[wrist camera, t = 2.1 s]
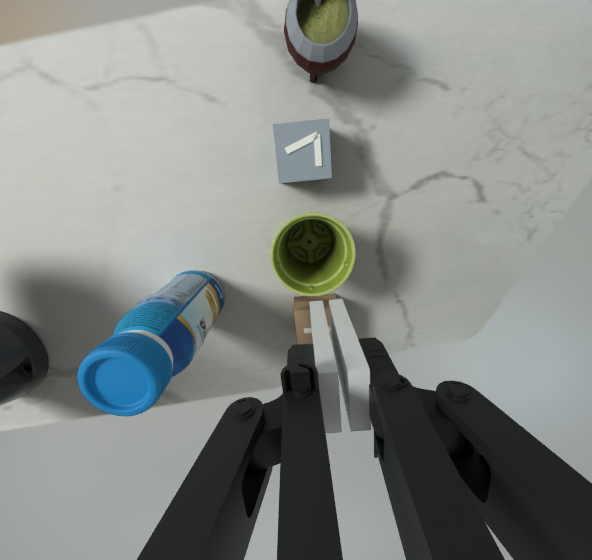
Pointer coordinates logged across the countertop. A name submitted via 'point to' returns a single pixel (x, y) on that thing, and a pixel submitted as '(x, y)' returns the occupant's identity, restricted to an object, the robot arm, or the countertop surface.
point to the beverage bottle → (151, 345)
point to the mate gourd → (320, 33)
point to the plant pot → (313, 254)
